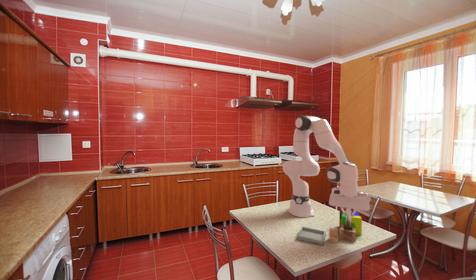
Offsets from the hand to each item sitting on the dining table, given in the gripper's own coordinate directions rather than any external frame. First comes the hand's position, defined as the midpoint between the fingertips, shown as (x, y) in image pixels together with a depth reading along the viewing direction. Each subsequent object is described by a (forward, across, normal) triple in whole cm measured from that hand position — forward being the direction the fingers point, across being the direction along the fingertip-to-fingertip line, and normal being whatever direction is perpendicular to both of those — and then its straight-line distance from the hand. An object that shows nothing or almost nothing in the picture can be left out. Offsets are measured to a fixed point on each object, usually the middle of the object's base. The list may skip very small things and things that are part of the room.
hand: (348, 215), depth 118 cm
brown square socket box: (+12, 0, 0) cm, 12 cm away
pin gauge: (+5, 0, 0) cm, 5 cm away
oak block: (+12, +7, +8) cm, 16 cm away
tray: (+12, +18, +10) cm, 24 cm away
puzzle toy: (+12, -1, -10) cm, 16 cm away
